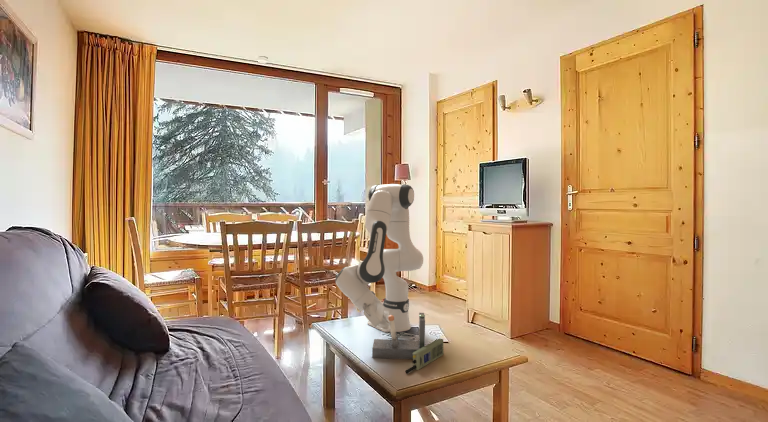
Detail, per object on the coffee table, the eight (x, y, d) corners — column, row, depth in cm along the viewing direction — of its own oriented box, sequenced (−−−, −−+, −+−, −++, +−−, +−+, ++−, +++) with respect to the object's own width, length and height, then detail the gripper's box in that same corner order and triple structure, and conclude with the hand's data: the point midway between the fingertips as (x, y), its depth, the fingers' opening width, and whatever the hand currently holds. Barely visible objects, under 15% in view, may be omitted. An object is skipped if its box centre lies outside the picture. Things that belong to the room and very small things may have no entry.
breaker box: (372, 357, 164) (372, 317, 163) (374, 348, 174) (374, 310, 173) (424, 359, 162) (425, 318, 162) (423, 349, 172) (424, 311, 172)
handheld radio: (445, 355, 168) (410, 376, 148) (438, 353, 170) (403, 374, 150) (444, 339, 167) (410, 358, 148) (437, 337, 170) (402, 356, 150)
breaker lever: (391, 344, 167) (387, 316, 166) (391, 342, 169) (387, 314, 169) (397, 343, 166) (393, 315, 166) (397, 341, 169) (393, 313, 169)
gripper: (368, 302, 157) (392, 328, 157) (373, 290, 177) (394, 313, 177) (356, 313, 157) (380, 339, 157) (362, 299, 178) (384, 322, 178)
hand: (388, 325), depth 167 cm, fingers closed, pressing on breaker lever
